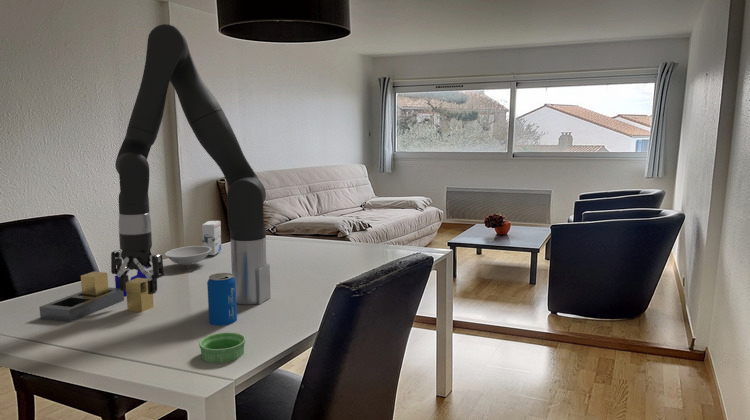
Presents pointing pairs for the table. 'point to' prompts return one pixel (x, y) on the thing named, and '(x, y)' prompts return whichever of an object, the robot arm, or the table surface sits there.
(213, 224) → the ink box
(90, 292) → the beige cube
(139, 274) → the cable clip
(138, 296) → the wooden toy block
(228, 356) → the ramekin
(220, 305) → the beverage can
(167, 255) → the dish
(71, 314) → the grey flat open box
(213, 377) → the table surface
